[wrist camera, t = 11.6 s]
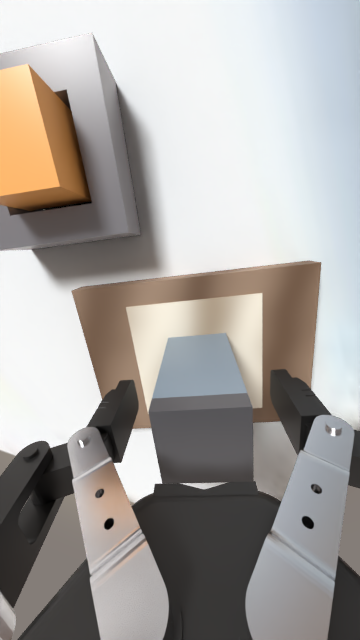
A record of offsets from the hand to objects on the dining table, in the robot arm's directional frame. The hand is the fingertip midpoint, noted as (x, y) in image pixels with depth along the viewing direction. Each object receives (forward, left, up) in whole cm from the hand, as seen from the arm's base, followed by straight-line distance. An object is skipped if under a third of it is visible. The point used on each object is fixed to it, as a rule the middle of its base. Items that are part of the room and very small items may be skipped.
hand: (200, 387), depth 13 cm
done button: (+7, -13, -3) cm, 15 cm away
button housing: (+7, -13, -5) cm, 16 cm away
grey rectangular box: (0, 0, -3) cm, 3 cm away
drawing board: (0, 0, -5) cm, 5 cm away
